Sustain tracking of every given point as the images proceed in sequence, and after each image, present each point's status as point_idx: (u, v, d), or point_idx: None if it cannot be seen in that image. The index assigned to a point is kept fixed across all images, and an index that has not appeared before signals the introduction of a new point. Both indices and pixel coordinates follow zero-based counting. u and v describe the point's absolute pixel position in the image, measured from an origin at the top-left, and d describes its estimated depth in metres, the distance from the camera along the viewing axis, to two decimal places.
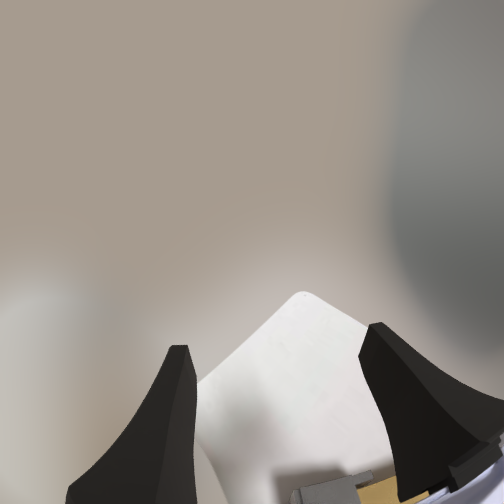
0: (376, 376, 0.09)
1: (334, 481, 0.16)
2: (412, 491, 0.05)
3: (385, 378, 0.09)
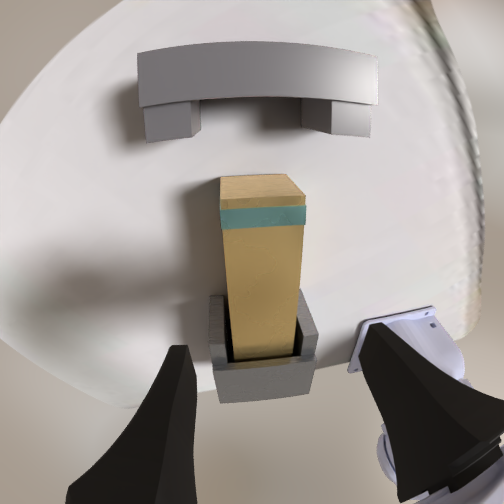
0: (376, 376, 0.09)
1: (218, 384, 0.18)
2: (411, 491, 0.05)
3: (385, 378, 0.09)
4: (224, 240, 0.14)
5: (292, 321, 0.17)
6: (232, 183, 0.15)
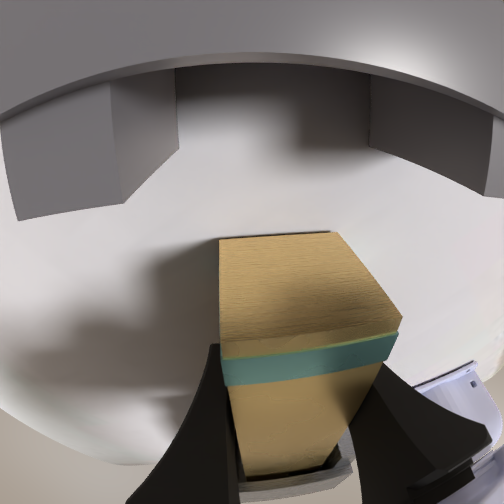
0: None
1: None
2: None
3: None
4: (232, 397, 0.06)
5: (329, 447, 0.09)
6: (243, 266, 0.08)
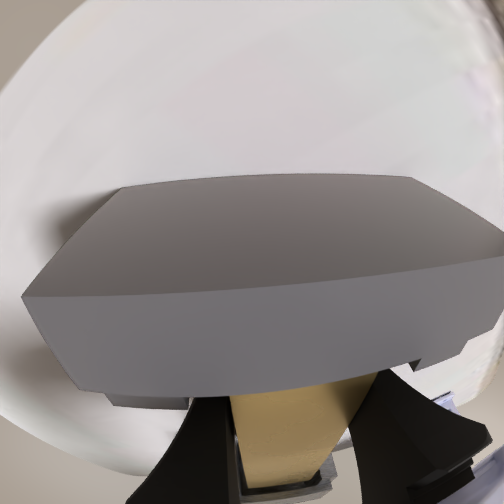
0: None
1: None
2: None
3: None
4: (232, 398, 0.06)
5: (329, 448, 0.09)
6: None
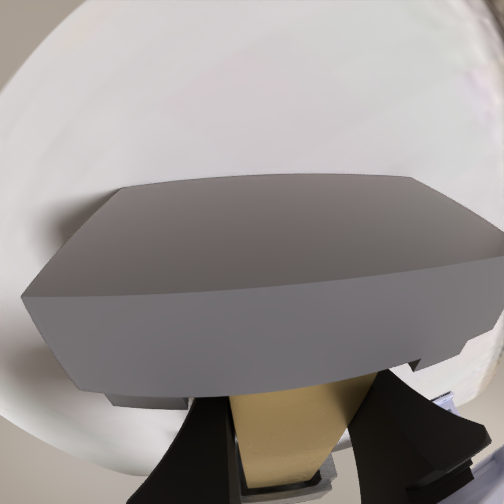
0: None
1: None
2: None
3: None
4: (232, 398, 0.06)
5: (329, 448, 0.09)
6: None
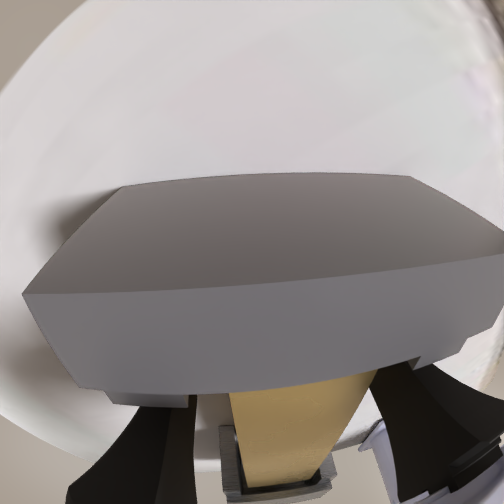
0: (376, 376, 0.09)
1: None
2: (411, 491, 0.05)
3: (385, 378, 0.09)
4: (231, 396, 0.06)
5: (329, 446, 0.09)
6: None
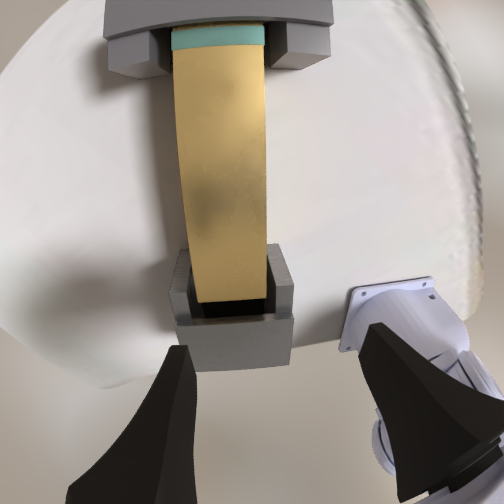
0: (376, 376, 0.09)
1: (182, 344, 0.16)
2: (411, 491, 0.05)
3: (385, 378, 0.09)
4: (174, 61, 0.10)
5: (261, 177, 0.13)
6: None
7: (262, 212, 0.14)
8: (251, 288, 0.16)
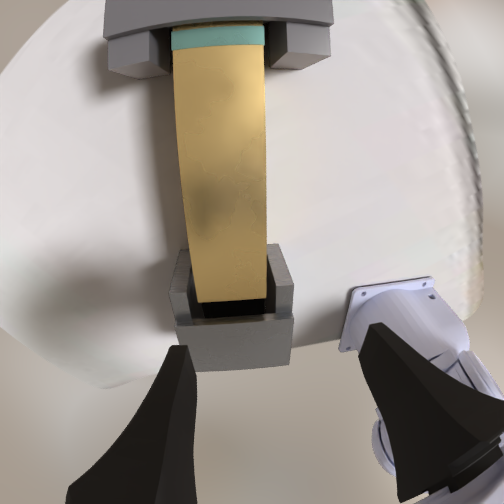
0: (376, 376, 0.09)
1: (182, 344, 0.16)
2: (411, 491, 0.05)
3: (385, 378, 0.09)
4: (174, 61, 0.10)
5: (261, 177, 0.13)
6: None
7: (262, 212, 0.14)
8: (251, 288, 0.16)
